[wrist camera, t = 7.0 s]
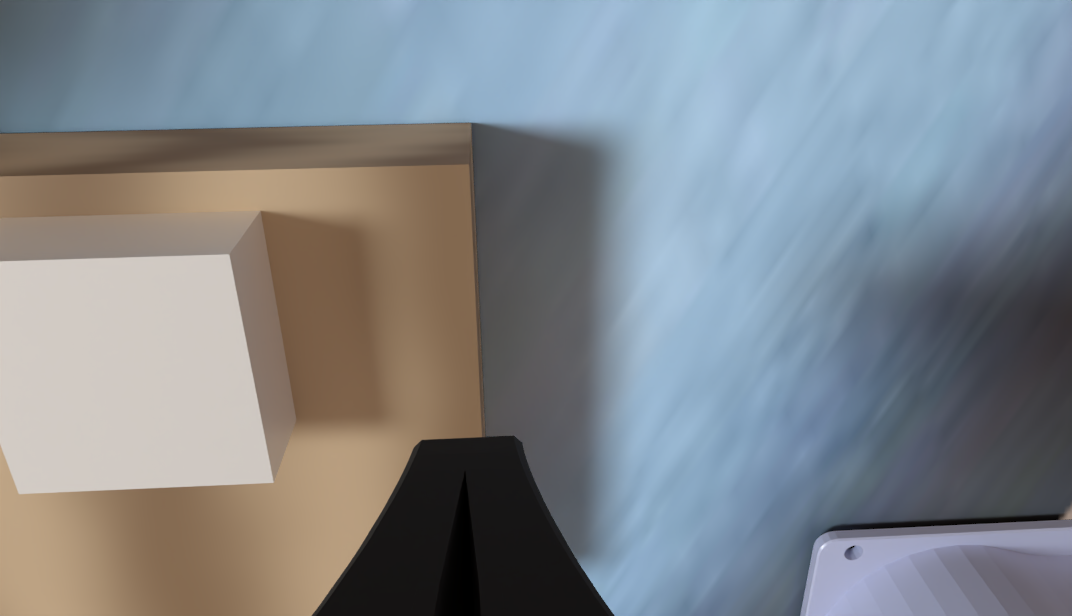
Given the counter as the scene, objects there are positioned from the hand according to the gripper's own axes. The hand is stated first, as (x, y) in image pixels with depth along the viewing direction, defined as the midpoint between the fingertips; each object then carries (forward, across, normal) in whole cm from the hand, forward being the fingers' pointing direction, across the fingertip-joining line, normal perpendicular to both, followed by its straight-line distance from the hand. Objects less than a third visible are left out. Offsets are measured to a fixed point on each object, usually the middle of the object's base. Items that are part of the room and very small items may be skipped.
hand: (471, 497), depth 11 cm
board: (+8, +6, +3) cm, 11 cm away
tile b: (+5, +6, 0) cm, 8 cm away
